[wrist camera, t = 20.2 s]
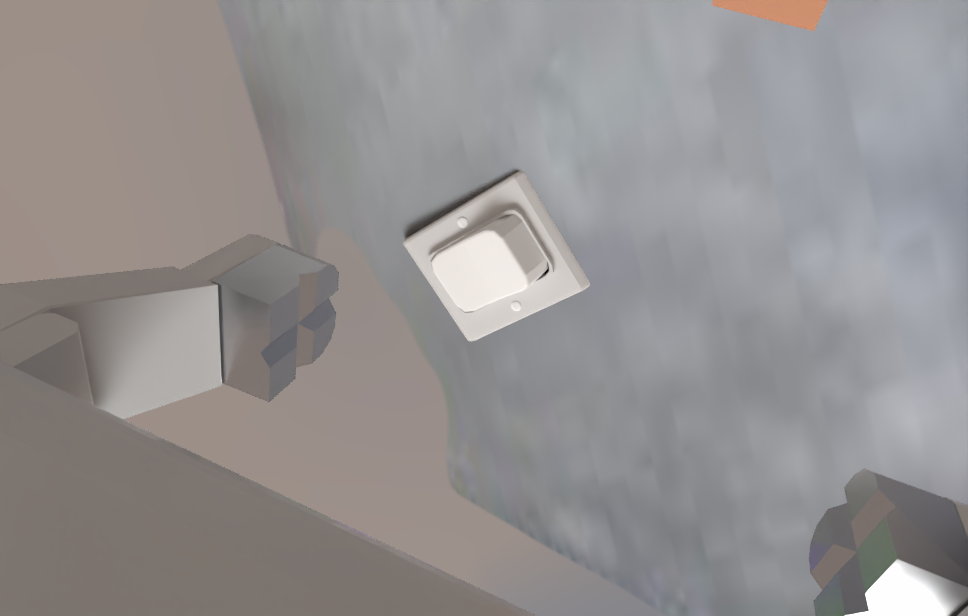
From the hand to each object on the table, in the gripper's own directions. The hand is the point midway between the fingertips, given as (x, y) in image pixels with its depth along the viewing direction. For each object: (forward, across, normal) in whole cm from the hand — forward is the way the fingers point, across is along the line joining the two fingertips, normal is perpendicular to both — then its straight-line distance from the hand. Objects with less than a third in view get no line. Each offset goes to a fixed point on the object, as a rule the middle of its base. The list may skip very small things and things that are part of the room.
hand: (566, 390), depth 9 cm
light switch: (+38, -10, -18) cm, 43 cm away
